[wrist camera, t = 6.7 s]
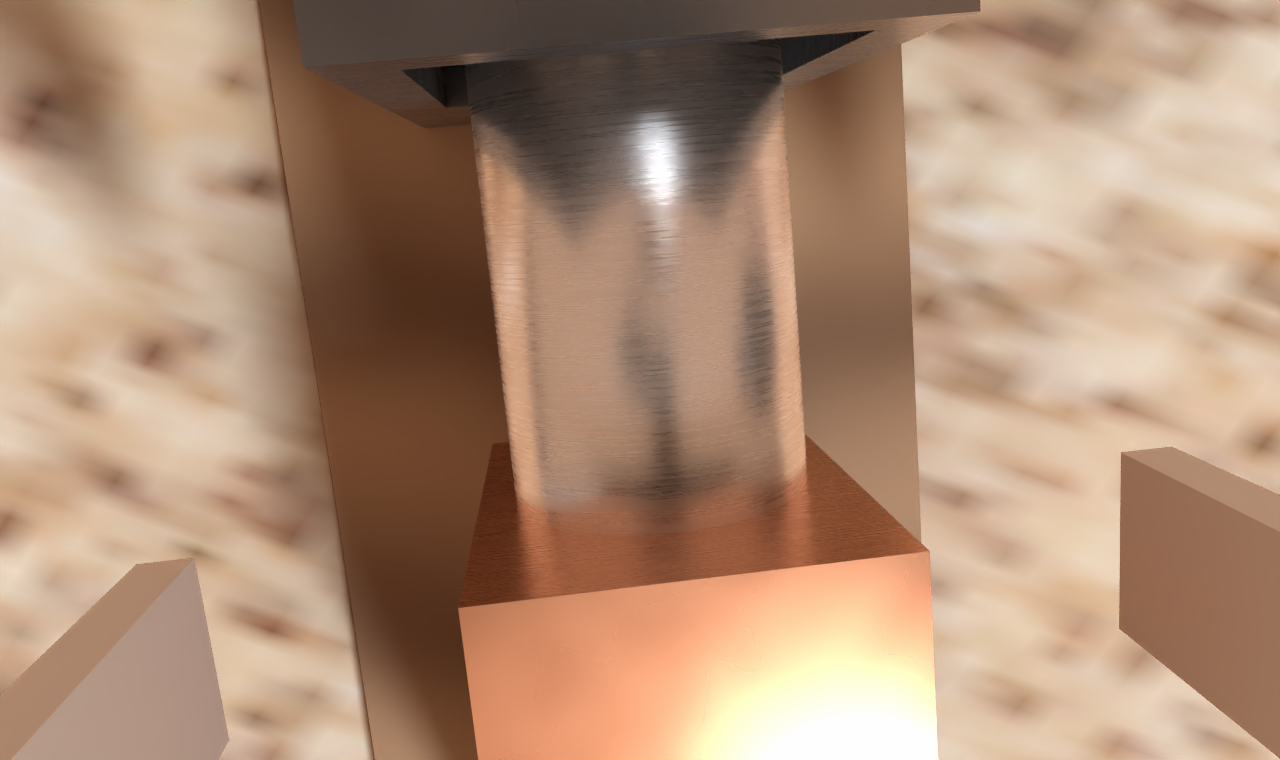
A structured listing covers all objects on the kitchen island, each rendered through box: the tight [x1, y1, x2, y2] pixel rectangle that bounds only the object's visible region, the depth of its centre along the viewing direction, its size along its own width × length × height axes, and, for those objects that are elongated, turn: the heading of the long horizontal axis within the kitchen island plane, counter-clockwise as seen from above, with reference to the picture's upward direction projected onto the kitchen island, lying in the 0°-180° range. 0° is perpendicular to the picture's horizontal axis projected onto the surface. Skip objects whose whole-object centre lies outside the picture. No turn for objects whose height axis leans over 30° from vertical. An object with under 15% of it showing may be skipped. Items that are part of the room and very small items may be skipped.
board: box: [258, 0, 921, 760], centre depth 21 cm, size 28×12×1 cm, turn 5°
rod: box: [458, 38, 938, 760], centre depth 14 cm, size 17×5×7 cm, turn 5°
